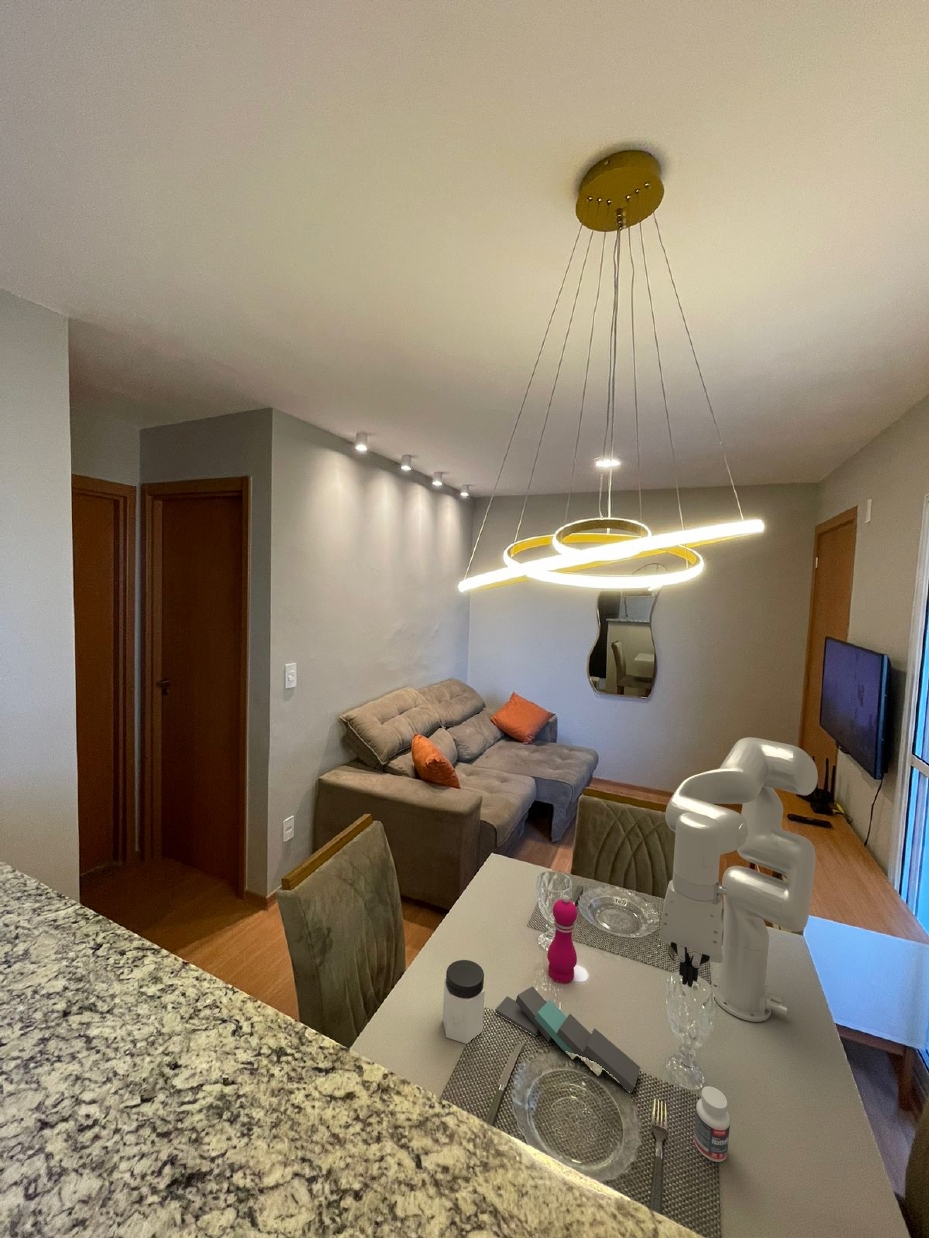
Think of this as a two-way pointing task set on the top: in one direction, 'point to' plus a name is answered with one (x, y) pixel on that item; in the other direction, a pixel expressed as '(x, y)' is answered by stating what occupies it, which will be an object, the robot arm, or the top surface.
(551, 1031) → the domino
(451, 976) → the jar
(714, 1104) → the pill bottle
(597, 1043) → the domino
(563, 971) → the pepper mill
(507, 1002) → the domino
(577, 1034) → the domino
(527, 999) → the domino
